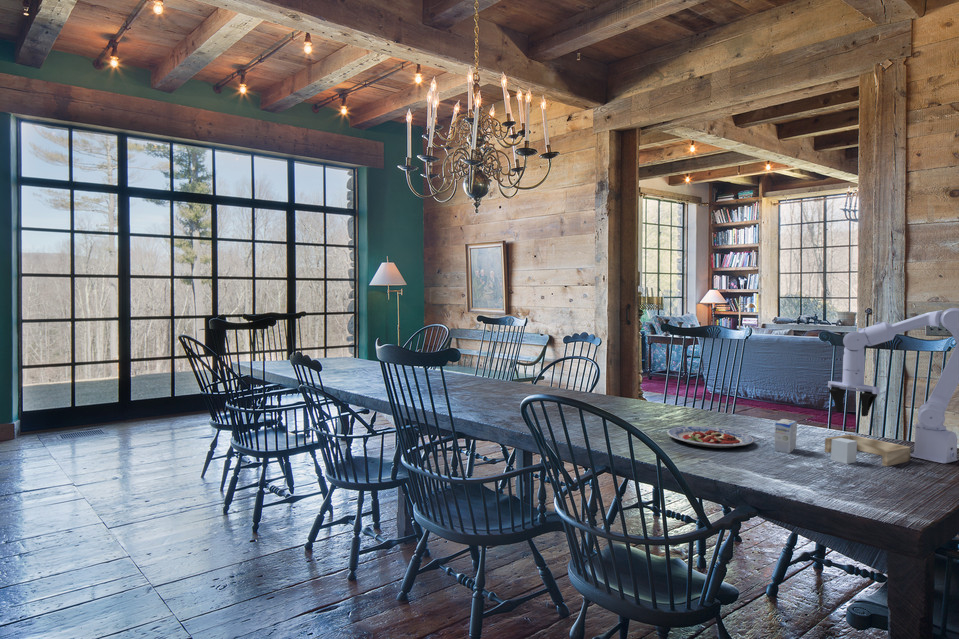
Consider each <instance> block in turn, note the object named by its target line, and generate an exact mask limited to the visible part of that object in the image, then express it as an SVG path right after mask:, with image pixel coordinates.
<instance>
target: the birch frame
mask: <svg viewBox="0 0 959 639" xmlns="http://www.w3.org/2000/svg"><path fill="white" fill-rule="evenodd" d="M836 438H845V439H849V440H854V441H857V451H860V452H864V453H868V454H873V455H878V456H882V458H881V459H882V460H881V461H882V463H881V466H885V467H889V466H893V465H898V464H903V463H908V462H911V451H912V447H911V446H909V445H907V446H906V445H903V444H898V443H892V442H888V441H885V440H884V441H883V440H877V439H874V438H869V437H863V436H858V435H854V434H850V433H849V434H845V435H837V436H831V437H826V438H824V452H826V453H831V445H832V439H836Z"/></svg>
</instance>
